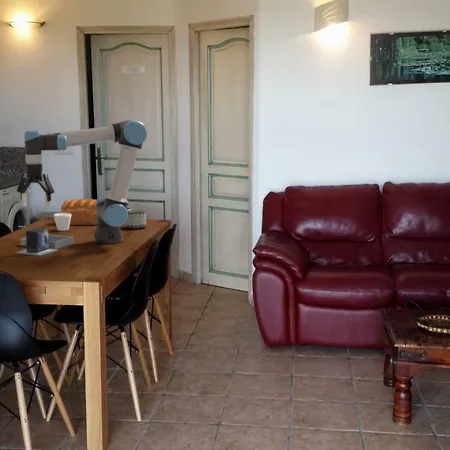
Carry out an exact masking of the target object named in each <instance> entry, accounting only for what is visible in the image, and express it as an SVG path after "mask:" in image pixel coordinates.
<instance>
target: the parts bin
mask: <svg viewBox="0 0 450 450" xmlns="http://www.w3.org/2000/svg"><path fill="white" fill-rule="evenodd" d="M48 238H49V249H61V248H62V247H63V248H64V247H66V246H71V245H73V244H75V237H74V236H68V235H67V236H66V235H59V234H58V235H57V234H48ZM19 240H20V245H19V246H20V247H26V236H25V237H22V238H20V239H19Z"/></svg>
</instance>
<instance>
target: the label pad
mask: <svg viewBox="0 0 450 450" xmlns="http://www.w3.org/2000/svg"><path fill="white" fill-rule="evenodd" d="M57 251H59V248H57V249H51V248H49V249H47V250H44V251H41V252H38V253H32V252H26V249H24V250H20V251H18V252H17V251H16V254H19V255H27V256H28V255H30V256H38V257H39V256H40V257H41V256H43V255H47V254H48V255H49V254H51V253H53V252H57Z"/></svg>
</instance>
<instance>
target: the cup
mask: <svg viewBox="0 0 450 450" xmlns="http://www.w3.org/2000/svg"><path fill="white" fill-rule="evenodd" d="M53 218H54V221H55V224H56V230H57V231H58V232H65V231H66V232H67V231H69V228H70V226H71V225H70V220H71V214H69V213H61V212H60V213H59V212H58V213H55V214H53Z"/></svg>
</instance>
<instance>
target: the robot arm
mask: <svg viewBox="0 0 450 450" xmlns="http://www.w3.org/2000/svg"><path fill="white" fill-rule="evenodd" d="M147 137H148V130H147V127H146V126H145V124H144V123H142V122H141V121H138V120H135V119H133V120H132V119H130V120H124V121H123V120H122V121H121V122H116V123H111V124H109V125H108V126H101V127H92V128H85V129H77V130H69V131H62V132H56V133H45V134H42V133H41V131H40V130H26V131H25V132H24V151H25V152H24V153H25V154H24V155H25V156H24V157H25V163H26V165H25V171H26V172H22V173H20V174H21V175H20V176H21V177H20V180H19V183H18V185H17V188H16V192H17V193H19V194H20V199H21V205H22V208H26V207H28V195H27V190H28V188H29V187H30V185H31V184H38V185H39V186H40V187H41V188H42V191H44V193H45V194H44V205H45V206H44V207H45V209H51V201H52V194H54V193H55V189H54V187H53V185H52V183H51V180H50V178H49V174H48V173H43V163H42V162H43V153H42V151H43V152H46V151H66V150H67V147H77V146H84V145H91V144H98V143H99V144H100V143H106V142H111V143H113V144H114V143H115V144H116V143H118V147H119V148H120V149H119V154H118V158H117V162H116V167H115V171H114V176H113V178H112V183H111V187H110V192H109V194H108V195H107V196H106V197H105V198H97V199H96V200H97V201H96V213H97V225H96V229H95V233H94V235H93V242H94V243H95V244H103V245H104V244H105V245H106V244H108V245H109V244H111V245H112V244H118V243H121V242H123V240H124V236H123V233H122V230H121V227H120V226H123V225H125V222H126V220H127V217H128V212H127V210H128V207H129V200H128V194H129V188H130V185H131V180H132V177H133V172H134V168H135V163H136V159H137V154H138V152H140V151H142V147H143V143H144V142H145V141H146V139H147Z"/></svg>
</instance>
